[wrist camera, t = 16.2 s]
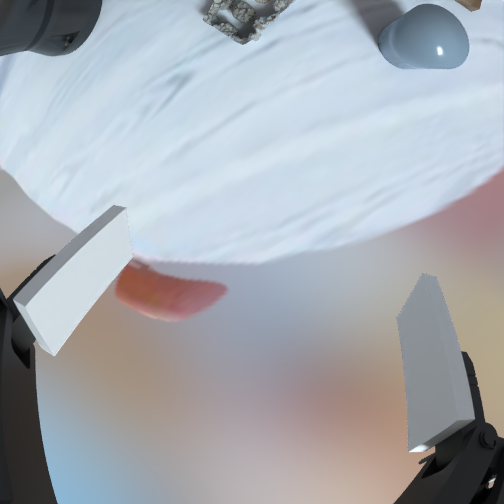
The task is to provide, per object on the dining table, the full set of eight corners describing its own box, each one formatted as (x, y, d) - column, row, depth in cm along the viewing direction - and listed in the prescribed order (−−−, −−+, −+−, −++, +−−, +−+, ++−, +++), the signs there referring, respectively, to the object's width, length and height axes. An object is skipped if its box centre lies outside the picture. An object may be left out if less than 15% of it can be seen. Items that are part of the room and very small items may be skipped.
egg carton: (261, -35, 21) (254, -47, 18) (309, -4, 23) (307, -14, 20) (205, 20, 27) (192, 15, 24) (249, 51, 29) (241, 48, 26)
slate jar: (372, 54, 26) (397, 45, 16) (386, 15, 22) (415, -9, 12) (416, 77, 25) (458, 82, 16) (430, 39, 22) (475, 29, 12)
